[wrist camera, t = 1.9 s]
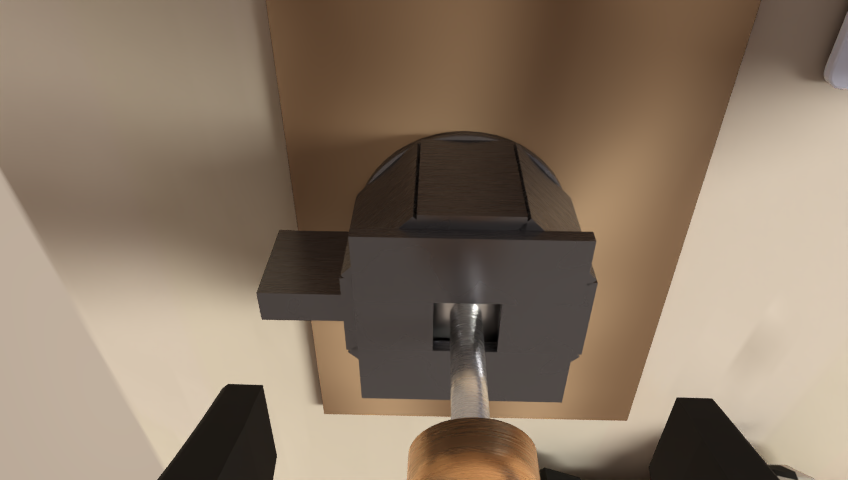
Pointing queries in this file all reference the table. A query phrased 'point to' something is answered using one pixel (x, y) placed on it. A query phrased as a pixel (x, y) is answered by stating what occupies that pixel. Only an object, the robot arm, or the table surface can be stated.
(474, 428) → the plunger
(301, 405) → the table surface
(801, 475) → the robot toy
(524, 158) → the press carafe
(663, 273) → the walnut board
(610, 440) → the table surface
